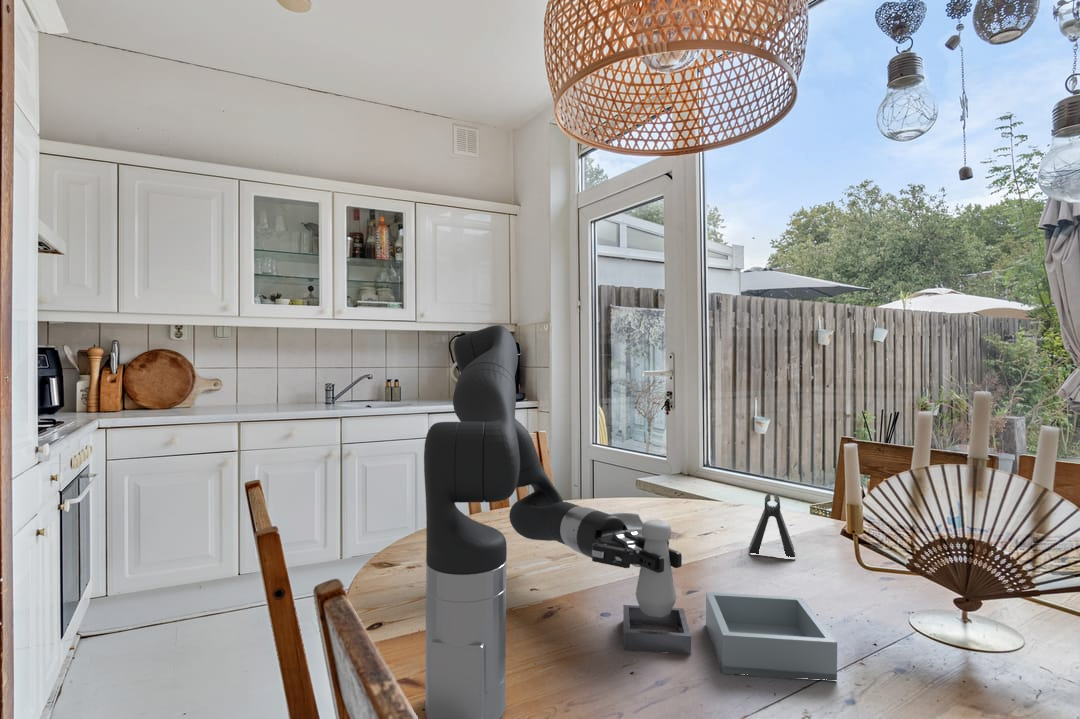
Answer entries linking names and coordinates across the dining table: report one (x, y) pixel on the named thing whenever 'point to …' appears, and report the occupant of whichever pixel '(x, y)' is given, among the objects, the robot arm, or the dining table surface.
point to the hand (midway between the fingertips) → (670, 563)
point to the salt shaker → (652, 586)
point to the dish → (630, 521)
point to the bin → (769, 637)
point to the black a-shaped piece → (762, 525)
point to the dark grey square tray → (654, 639)
